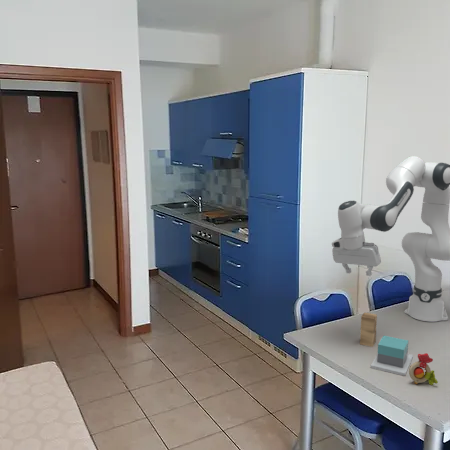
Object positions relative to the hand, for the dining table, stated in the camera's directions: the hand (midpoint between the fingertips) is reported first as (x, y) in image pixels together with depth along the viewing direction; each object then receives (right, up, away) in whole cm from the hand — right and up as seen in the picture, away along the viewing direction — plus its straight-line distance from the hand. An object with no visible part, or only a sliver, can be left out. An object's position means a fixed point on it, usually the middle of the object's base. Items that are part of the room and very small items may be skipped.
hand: (358, 274), depth 189 cm
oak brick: (+4, -28, +1) cm, 29 cm away
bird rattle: (+13, -34, -30) cm, 47 cm away
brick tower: (+8, -31, -15) cm, 36 cm away
